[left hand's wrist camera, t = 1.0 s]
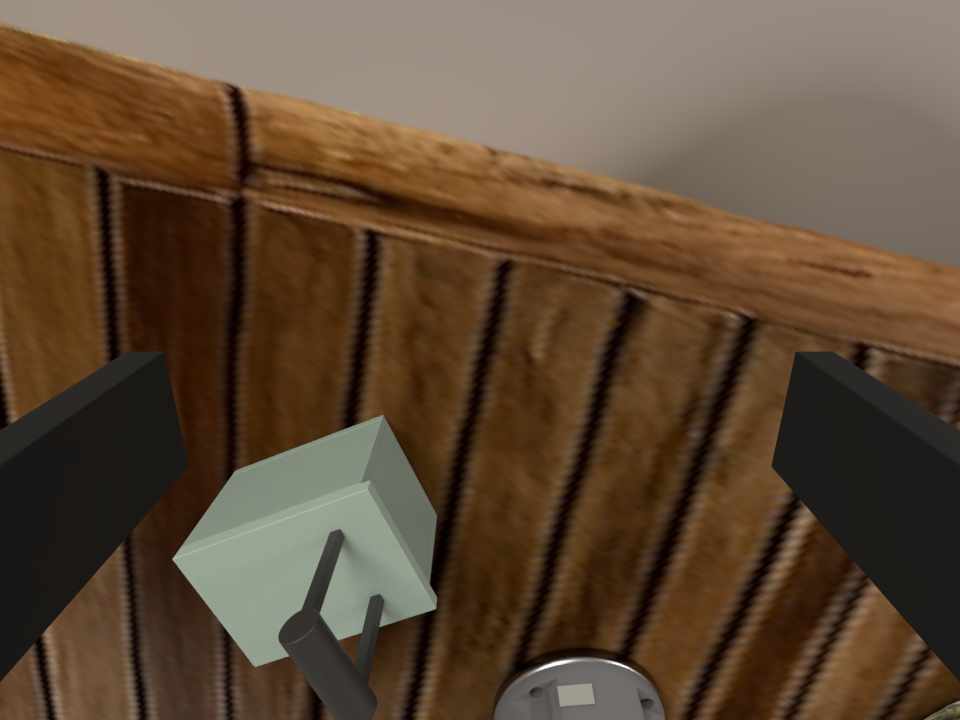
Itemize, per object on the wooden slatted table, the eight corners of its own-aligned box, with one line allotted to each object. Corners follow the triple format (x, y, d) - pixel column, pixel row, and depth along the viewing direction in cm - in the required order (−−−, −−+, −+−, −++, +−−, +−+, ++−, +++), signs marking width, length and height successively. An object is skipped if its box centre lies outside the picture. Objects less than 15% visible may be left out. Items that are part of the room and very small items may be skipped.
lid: (370, 479, 34) (333, 597, 25) (437, 597, 37) (424, 736, 29) (179, 548, 36) (86, 679, 27) (259, 654, 39) (198, 801, 30)
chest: (383, 414, 42) (360, 482, 34) (437, 515, 45) (428, 600, 37) (235, 470, 44) (180, 547, 36) (297, 563, 47) (259, 654, 39)
